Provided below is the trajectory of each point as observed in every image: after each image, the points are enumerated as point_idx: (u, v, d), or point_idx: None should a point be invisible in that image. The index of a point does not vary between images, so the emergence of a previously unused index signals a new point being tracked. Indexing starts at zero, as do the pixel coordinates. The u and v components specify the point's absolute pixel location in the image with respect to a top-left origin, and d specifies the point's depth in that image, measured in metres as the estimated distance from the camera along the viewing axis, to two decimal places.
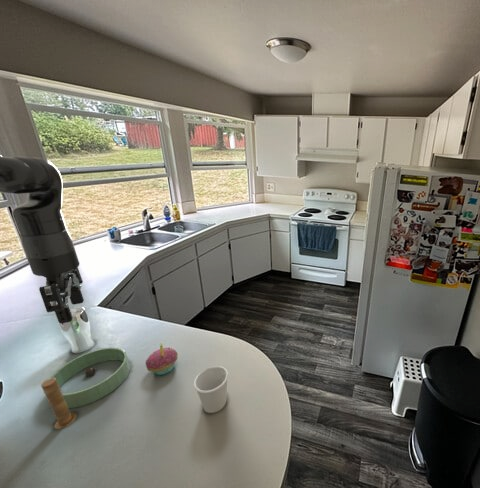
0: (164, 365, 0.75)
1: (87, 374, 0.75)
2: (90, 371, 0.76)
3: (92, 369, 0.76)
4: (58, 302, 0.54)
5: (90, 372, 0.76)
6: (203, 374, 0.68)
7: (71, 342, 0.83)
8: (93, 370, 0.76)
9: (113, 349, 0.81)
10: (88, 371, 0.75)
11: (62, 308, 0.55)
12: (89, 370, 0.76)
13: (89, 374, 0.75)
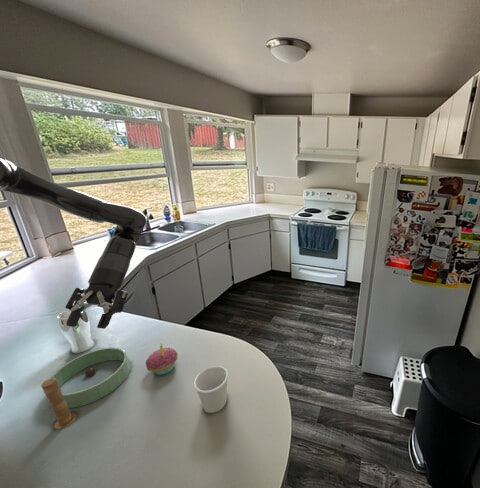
0: (164, 365, 0.75)
1: (87, 374, 0.75)
2: (90, 371, 0.76)
3: (92, 369, 0.76)
4: (123, 305, 0.71)
5: (90, 372, 0.76)
6: (203, 374, 0.68)
7: (71, 342, 0.83)
8: (93, 370, 0.76)
9: (113, 349, 0.81)
10: (88, 371, 0.75)
11: None
12: (89, 370, 0.76)
13: (89, 374, 0.75)
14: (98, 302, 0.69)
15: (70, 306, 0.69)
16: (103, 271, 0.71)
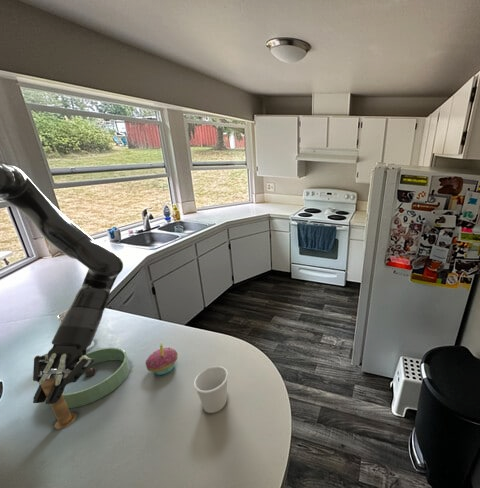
0: (164, 365, 0.75)
1: (87, 374, 0.75)
2: (90, 371, 0.76)
3: (92, 369, 0.76)
4: (80, 375, 0.62)
5: (90, 372, 0.76)
6: (203, 374, 0.68)
7: None
8: (93, 370, 0.76)
9: (113, 349, 0.81)
10: (88, 371, 0.75)
11: None
12: (89, 370, 0.76)
13: (89, 374, 0.75)
14: (58, 365, 0.61)
15: (38, 378, 0.60)
16: (69, 330, 0.62)
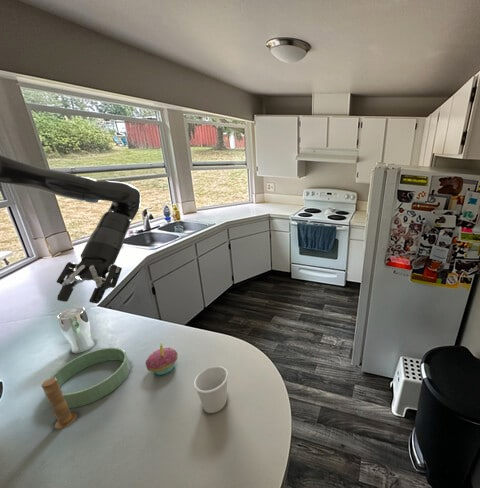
0: (164, 365, 0.75)
1: None
2: None
3: None
4: (117, 280, 0.69)
5: None
6: (203, 374, 0.68)
7: (71, 342, 0.83)
8: None
9: (113, 349, 0.81)
10: None
11: None
12: None
13: None
14: (91, 276, 0.67)
15: (61, 280, 0.67)
16: (96, 245, 0.68)
